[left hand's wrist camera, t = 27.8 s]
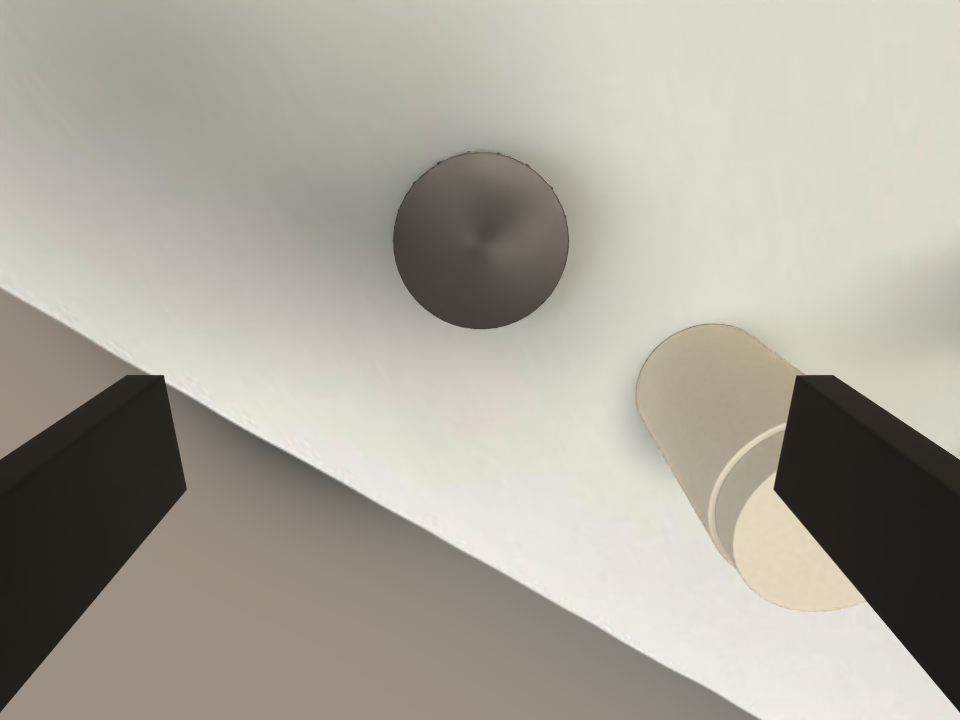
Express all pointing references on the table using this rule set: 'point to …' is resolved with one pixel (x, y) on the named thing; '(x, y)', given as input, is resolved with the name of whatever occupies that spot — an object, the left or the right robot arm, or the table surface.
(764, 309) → the table surface
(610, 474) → the table surface
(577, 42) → the table surface
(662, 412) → the jar
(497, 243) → the lid
